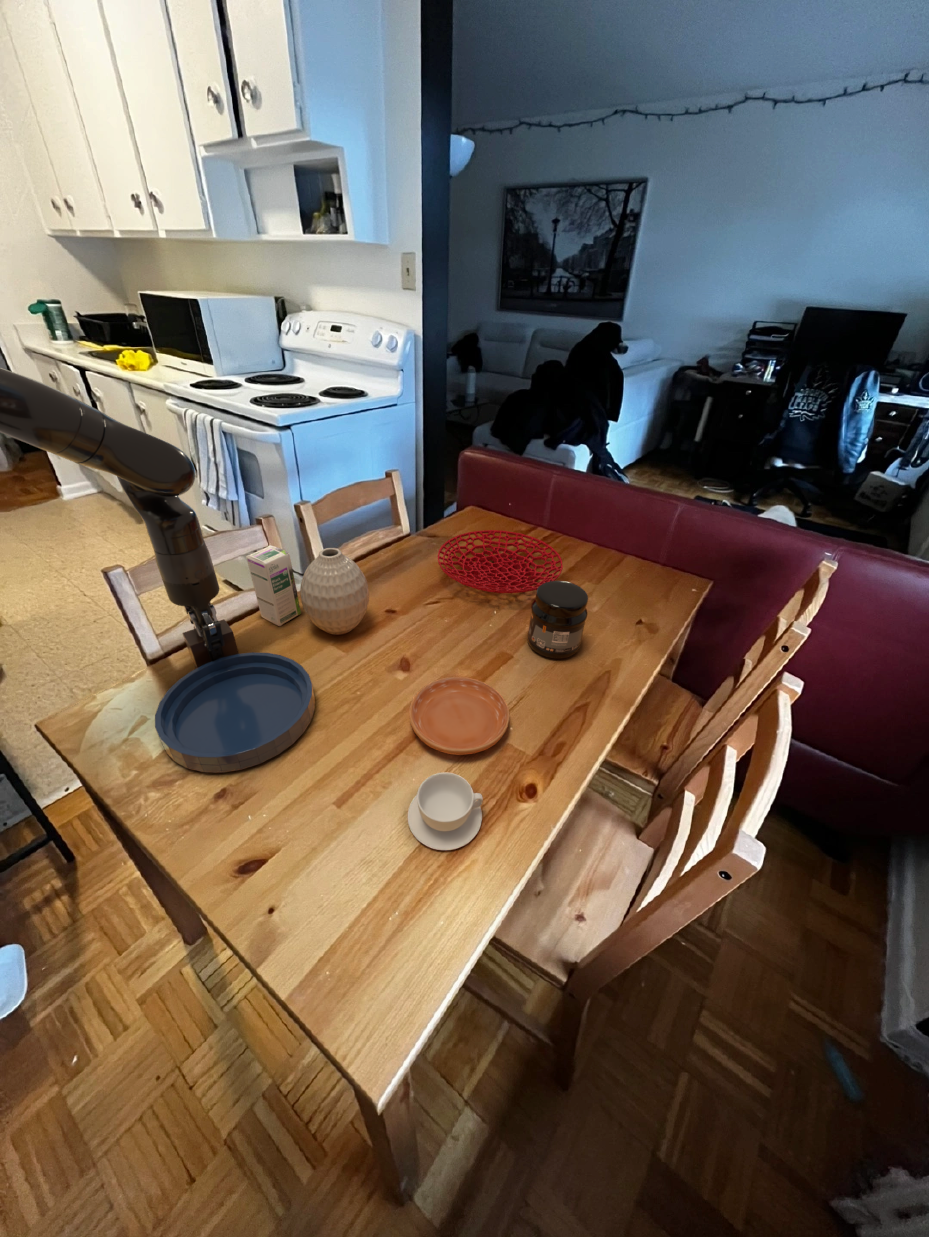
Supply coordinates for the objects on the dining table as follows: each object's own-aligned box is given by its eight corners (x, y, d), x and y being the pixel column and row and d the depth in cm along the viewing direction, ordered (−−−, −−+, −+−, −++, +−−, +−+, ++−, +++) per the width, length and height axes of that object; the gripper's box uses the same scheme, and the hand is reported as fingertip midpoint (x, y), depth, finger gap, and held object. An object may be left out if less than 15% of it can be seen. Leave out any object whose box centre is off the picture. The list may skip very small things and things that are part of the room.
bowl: (476, 624, 103) (477, 604, 100) (416, 561, 124) (416, 543, 121) (585, 591, 116) (589, 573, 113) (514, 539, 136) (516, 522, 133)
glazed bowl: (187, 803, 67) (178, 785, 65) (147, 706, 81) (139, 688, 79) (339, 726, 79) (337, 709, 77) (282, 653, 93) (278, 636, 91)
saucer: (527, 736, 79) (530, 723, 77) (440, 779, 72) (441, 766, 70) (473, 677, 90) (474, 665, 88) (392, 709, 83) (391, 696, 81)
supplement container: (553, 622, 105) (562, 573, 98) (590, 649, 98) (603, 598, 91) (515, 639, 100) (522, 588, 93) (552, 668, 93) (562, 616, 86)
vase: (355, 601, 108) (348, 531, 98) (382, 632, 100) (377, 558, 90) (297, 619, 102) (283, 546, 92) (320, 653, 93) (308, 576, 84)
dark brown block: (199, 673, 86) (189, 646, 83) (191, 659, 89) (182, 632, 85) (240, 657, 90) (232, 631, 86) (231, 645, 93) (224, 618, 89)
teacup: (410, 857, 62) (410, 836, 60) (405, 789, 70) (404, 768, 68) (488, 846, 64) (491, 825, 61) (474, 781, 72) (476, 760, 69)
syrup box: (279, 627, 99) (266, 563, 91) (260, 617, 102) (245, 554, 93) (301, 614, 103) (290, 552, 95) (282, 604, 106) (269, 543, 97)
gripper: (150, 558, 81) (179, 641, 91) (173, 597, 72) (204, 684, 82) (198, 546, 85) (222, 626, 95) (227, 582, 76) (249, 666, 86)
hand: (213, 653), depth 89 cm, fingers closed on dark brown block, 4 cm apart
